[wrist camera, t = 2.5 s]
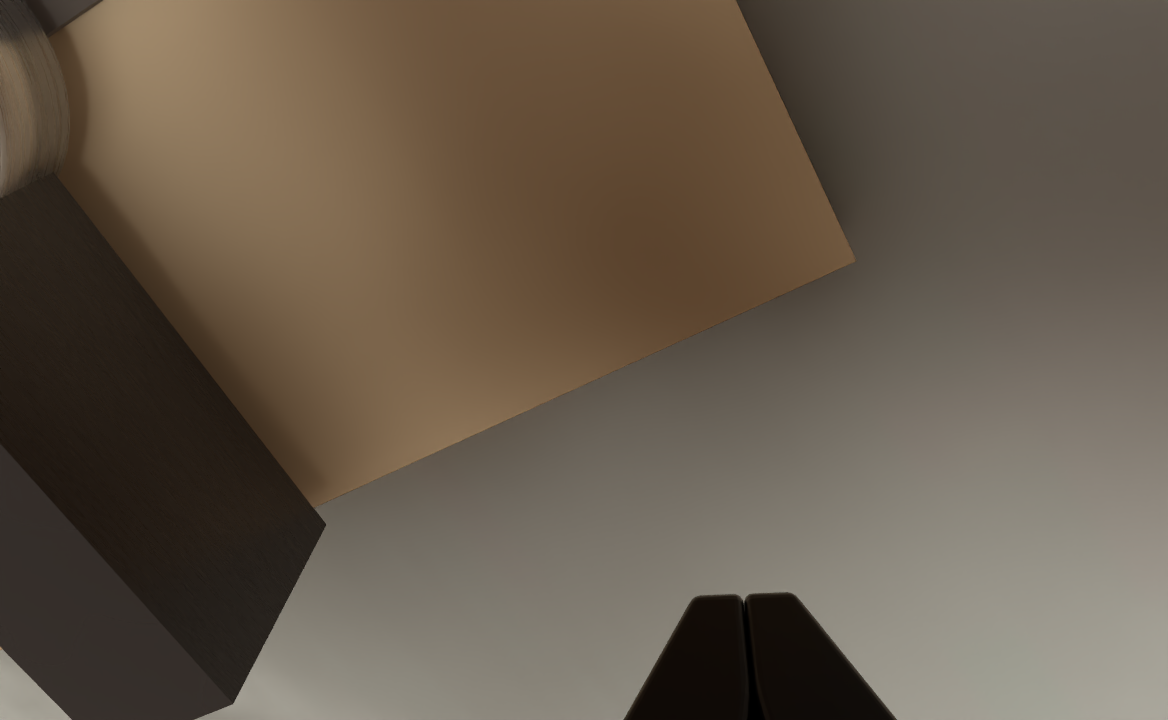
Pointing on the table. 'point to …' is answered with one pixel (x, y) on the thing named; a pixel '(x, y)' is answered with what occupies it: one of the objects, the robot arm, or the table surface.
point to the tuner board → (432, 200)
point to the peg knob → (118, 455)
